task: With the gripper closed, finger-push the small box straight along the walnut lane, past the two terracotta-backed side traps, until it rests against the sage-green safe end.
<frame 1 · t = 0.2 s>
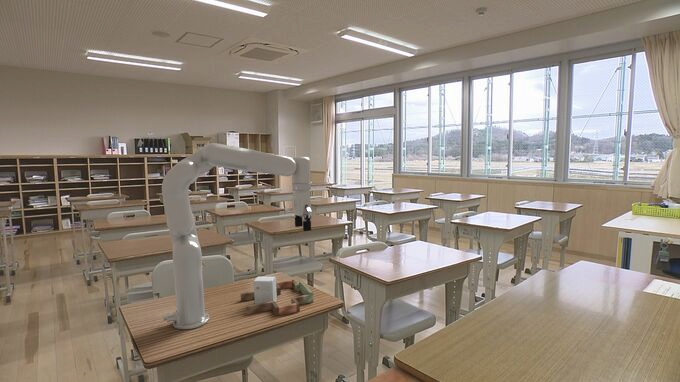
hand: (302, 228, 153), 31 cm above the table, fingers open, 9 cm apart
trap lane: (275, 301, 156), on the table
small box: (266, 303, 154), resting in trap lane
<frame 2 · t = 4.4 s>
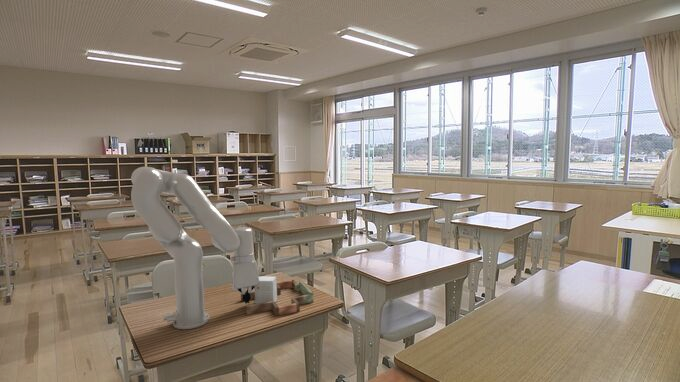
hand: (246, 302, 151), 2 cm above the table, fingers closed
small box: (266, 303, 154), resting in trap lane, touching gripper
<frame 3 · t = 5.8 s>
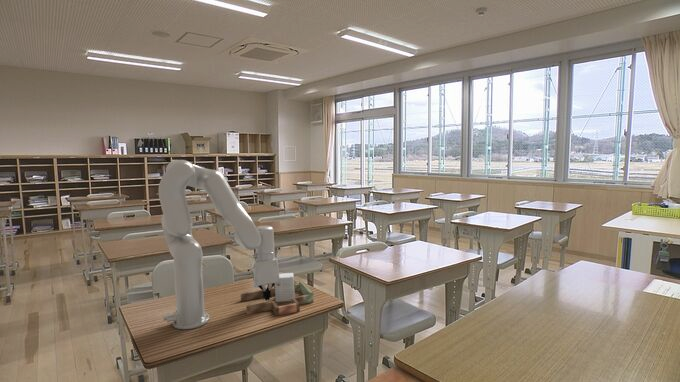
hand: (266, 299, 154), 2 cm above the table, fingers closed
small box: (285, 299, 158), resting in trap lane, touching gripper
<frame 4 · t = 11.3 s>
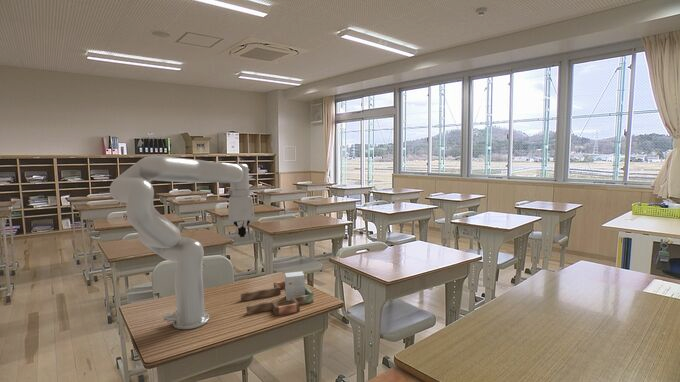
hand: (242, 236, 157), 27 cm above the table, fingers closed
small box: (295, 298, 159), resting in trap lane
at the end: small box inside the target area (1.3 cm from its centre), resting in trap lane; small box tilted 0°; small box moved 12.7 cm from its start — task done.
